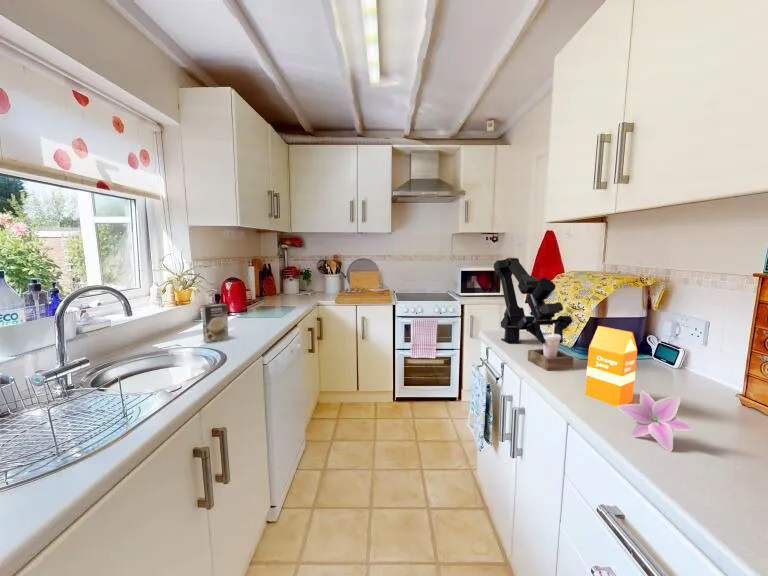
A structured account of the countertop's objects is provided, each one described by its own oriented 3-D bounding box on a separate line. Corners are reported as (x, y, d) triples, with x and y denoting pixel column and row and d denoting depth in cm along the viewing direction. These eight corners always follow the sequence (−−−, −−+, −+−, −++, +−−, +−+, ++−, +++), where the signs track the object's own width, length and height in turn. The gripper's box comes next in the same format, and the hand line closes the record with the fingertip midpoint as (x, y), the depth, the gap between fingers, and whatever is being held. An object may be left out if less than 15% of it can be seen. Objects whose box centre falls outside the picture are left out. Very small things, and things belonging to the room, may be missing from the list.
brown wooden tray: (527, 360, 124) (528, 350, 124) (551, 358, 126) (552, 348, 126) (547, 370, 114) (547, 359, 113) (572, 368, 116) (573, 357, 116)
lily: (608, 425, 81) (610, 400, 76) (648, 404, 82) (652, 378, 77) (657, 469, 71) (663, 442, 66) (702, 443, 72) (710, 416, 67)
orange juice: (618, 407, 88) (625, 334, 85) (584, 394, 95) (590, 327, 93) (632, 400, 92) (639, 330, 89) (598, 389, 99) (604, 323, 97)
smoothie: (559, 365, 116) (562, 326, 114) (539, 362, 119) (541, 324, 117) (559, 359, 121) (562, 322, 120) (540, 356, 125) (542, 320, 123)
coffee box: (206, 343, 144) (204, 307, 142) (203, 340, 149) (201, 305, 147) (229, 339, 150) (227, 304, 148) (225, 336, 155) (223, 302, 153)
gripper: (523, 294, 120) (537, 332, 111) (571, 294, 122) (590, 331, 112) (511, 311, 129) (524, 347, 120) (557, 310, 131) (573, 346, 121)
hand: (553, 343), depth 118 cm, fingers closed on smoothie, 6 cm apart
